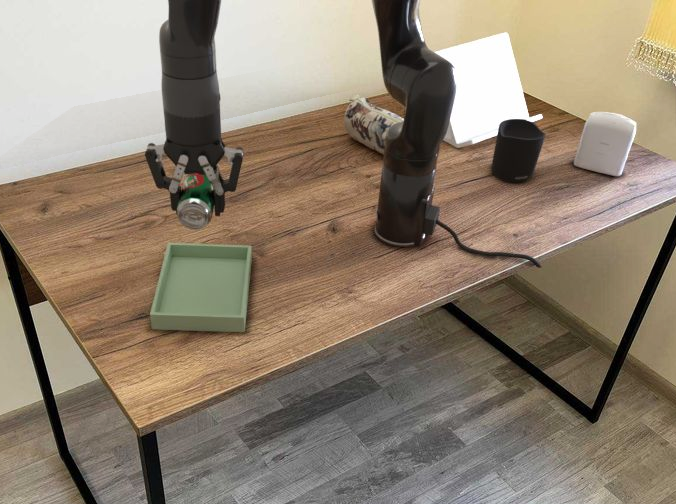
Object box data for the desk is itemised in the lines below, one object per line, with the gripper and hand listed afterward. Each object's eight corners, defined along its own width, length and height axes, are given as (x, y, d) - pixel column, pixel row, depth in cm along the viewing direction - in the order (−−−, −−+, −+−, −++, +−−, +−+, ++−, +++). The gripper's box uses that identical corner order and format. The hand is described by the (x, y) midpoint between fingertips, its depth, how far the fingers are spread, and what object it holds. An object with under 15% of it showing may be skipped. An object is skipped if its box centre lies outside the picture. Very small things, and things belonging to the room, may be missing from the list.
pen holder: (484, 178, 154) (494, 133, 148) (494, 158, 161) (504, 115, 154) (529, 188, 152) (541, 143, 145) (537, 168, 159) (549, 124, 152)
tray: (169, 257, 128) (167, 242, 126) (251, 260, 128) (251, 245, 126) (151, 329, 114) (149, 314, 112) (244, 332, 114) (244, 317, 112)
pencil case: (436, 165, 157) (444, 122, 151) (409, 178, 153) (416, 133, 146) (363, 128, 169) (367, 86, 162) (336, 138, 164) (339, 95, 158)
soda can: (216, 192, 116) (208, 235, 107) (184, 185, 115) (173, 228, 106) (222, 164, 112) (214, 206, 104) (188, 156, 111) (177, 198, 103)
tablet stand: (411, 123, 172) (422, 48, 160) (483, 98, 184) (498, 28, 173) (469, 154, 162) (485, 77, 150) (541, 126, 174) (561, 53, 163)
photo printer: (570, 166, 160) (587, 112, 152) (575, 158, 163) (591, 104, 155) (619, 179, 157) (638, 124, 149) (622, 171, 160) (642, 116, 152)
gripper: (132, 112, 96) (146, 224, 107) (243, 117, 96) (245, 228, 108) (142, 88, 101) (154, 197, 113) (247, 93, 102) (248, 201, 113)
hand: (199, 212), depth 110 cm, fingers closed on soda can, 5 cm apart
